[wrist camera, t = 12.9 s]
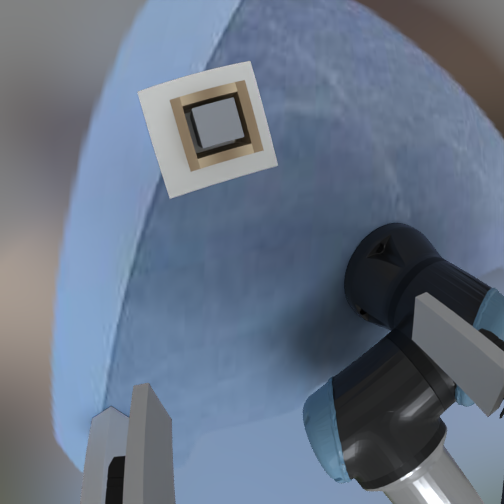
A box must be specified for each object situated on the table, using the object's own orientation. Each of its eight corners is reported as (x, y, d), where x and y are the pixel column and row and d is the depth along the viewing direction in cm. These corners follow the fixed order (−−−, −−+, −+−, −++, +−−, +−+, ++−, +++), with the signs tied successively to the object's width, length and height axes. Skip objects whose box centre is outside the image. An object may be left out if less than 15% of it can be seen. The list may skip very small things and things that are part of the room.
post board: (247, 64, 29) (274, 36, 20) (274, 164, 34) (310, 176, 24) (139, 93, 28) (120, 75, 18) (170, 196, 33) (165, 221, 23)
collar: (230, 93, 29) (244, 79, 21) (244, 147, 31) (263, 150, 24) (173, 109, 28) (169, 100, 21) (189, 163, 30) (190, 171, 23)
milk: (92, 417, 42) (76, 527, 22) (111, 405, 42) (99, 524, 21) (118, 434, 44) (113, 540, 24) (139, 423, 44) (138, 537, 24)
